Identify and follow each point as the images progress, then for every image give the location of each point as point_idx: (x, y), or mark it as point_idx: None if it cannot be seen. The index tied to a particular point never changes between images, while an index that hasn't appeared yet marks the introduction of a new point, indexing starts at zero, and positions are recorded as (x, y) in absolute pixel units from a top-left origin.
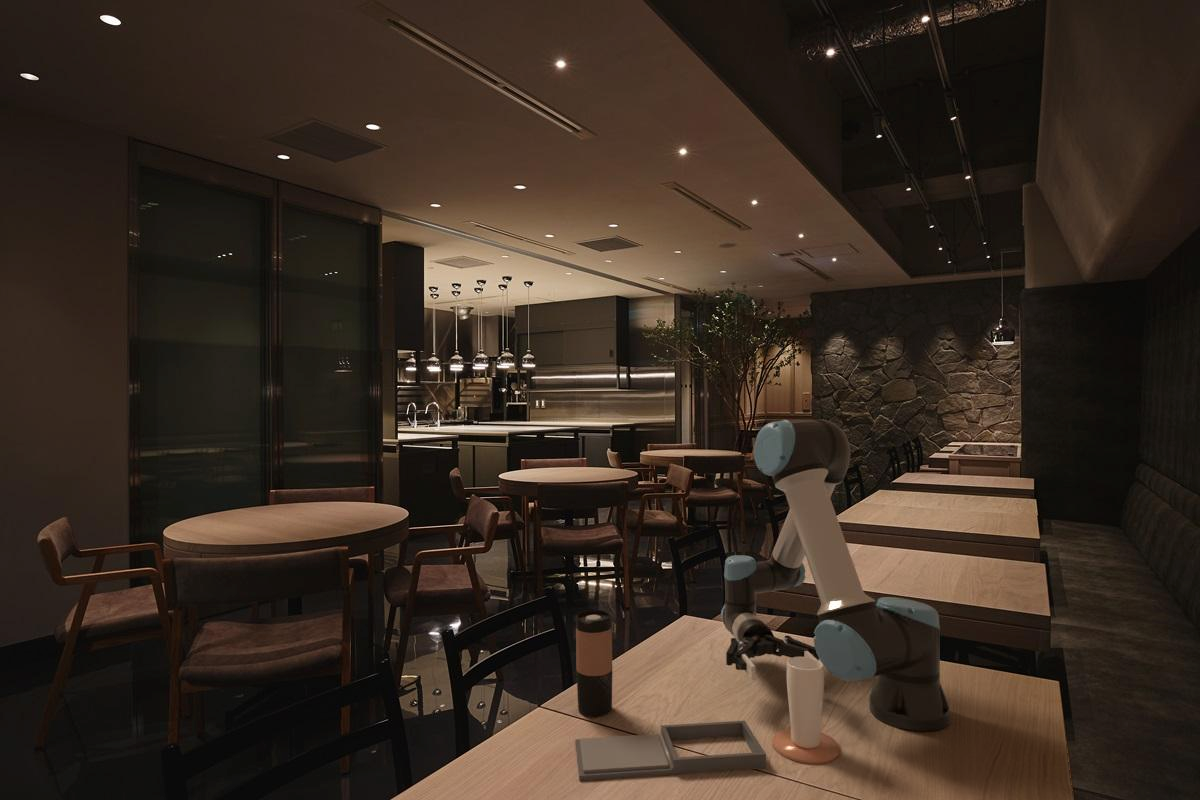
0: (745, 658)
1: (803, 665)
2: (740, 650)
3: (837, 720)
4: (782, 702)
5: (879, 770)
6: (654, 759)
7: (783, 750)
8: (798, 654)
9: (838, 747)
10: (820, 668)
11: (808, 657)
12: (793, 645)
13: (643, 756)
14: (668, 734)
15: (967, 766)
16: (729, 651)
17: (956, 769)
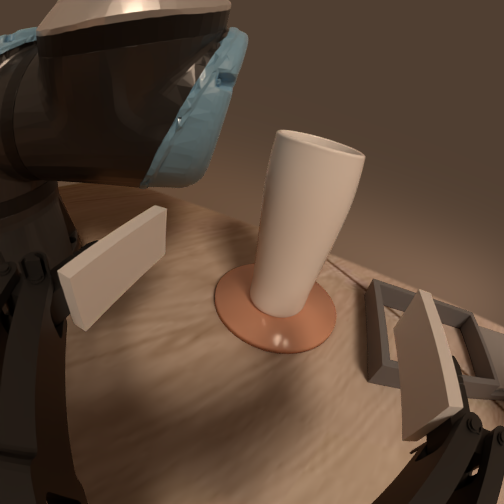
0: (450, 357)
1: (300, 165)
2: (456, 475)
3: (128, 328)
4: (166, 474)
5: (219, 235)
6: (485, 336)
7: (327, 302)
8: (54, 349)
9: (231, 270)
10: (301, 133)
11: (294, 137)
12: (10, 369)
13: (495, 344)
14: (488, 360)
15: (127, 204)
16: (499, 459)
17: (142, 207)
